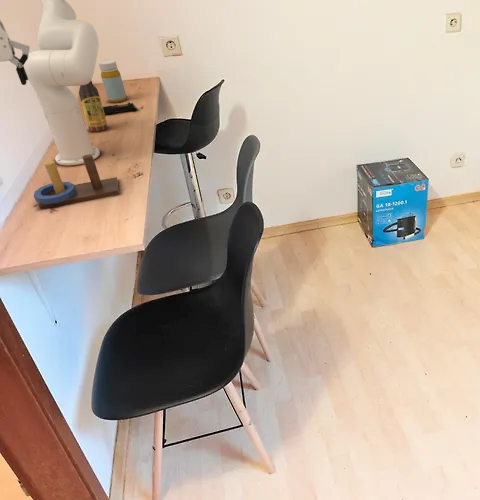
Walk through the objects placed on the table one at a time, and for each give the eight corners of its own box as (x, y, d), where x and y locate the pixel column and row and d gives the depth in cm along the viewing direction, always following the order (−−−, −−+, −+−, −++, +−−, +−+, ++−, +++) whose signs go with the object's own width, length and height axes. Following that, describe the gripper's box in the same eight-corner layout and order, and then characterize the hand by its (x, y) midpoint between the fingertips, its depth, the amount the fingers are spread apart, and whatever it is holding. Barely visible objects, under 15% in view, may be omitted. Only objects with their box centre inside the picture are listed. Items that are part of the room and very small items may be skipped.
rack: (43, 194, 138) (29, 159, 132) (118, 180, 143) (107, 146, 138) (40, 209, 131) (25, 173, 125) (119, 194, 137) (107, 159, 131)
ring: (37, 191, 137) (35, 185, 136) (76, 184, 140) (74, 179, 139) (34, 207, 129) (32, 201, 128) (75, 199, 132) (73, 193, 131)
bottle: (114, 97, 208) (103, 59, 200) (130, 97, 207) (120, 59, 199) (105, 103, 203) (93, 64, 194) (121, 103, 202) (110, 64, 193)
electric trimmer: (93, 115, 192) (90, 106, 190) (136, 108, 196) (134, 100, 194) (93, 118, 189) (90, 109, 187) (137, 111, 193) (134, 103, 191)
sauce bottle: (92, 134, 174) (73, 74, 163) (86, 129, 178) (67, 71, 167) (111, 129, 178) (94, 70, 167) (105, 124, 182) (88, 67, 171)
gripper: (16, 4, 120) (43, 77, 130) (-70, 10, 115) (-36, 87, 125) (12, 8, 114) (40, 85, 124) (-79, 16, 109) (-42, 95, 119)
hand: (2, 86), depth 124 cm, fingers open, 9 cm apart
